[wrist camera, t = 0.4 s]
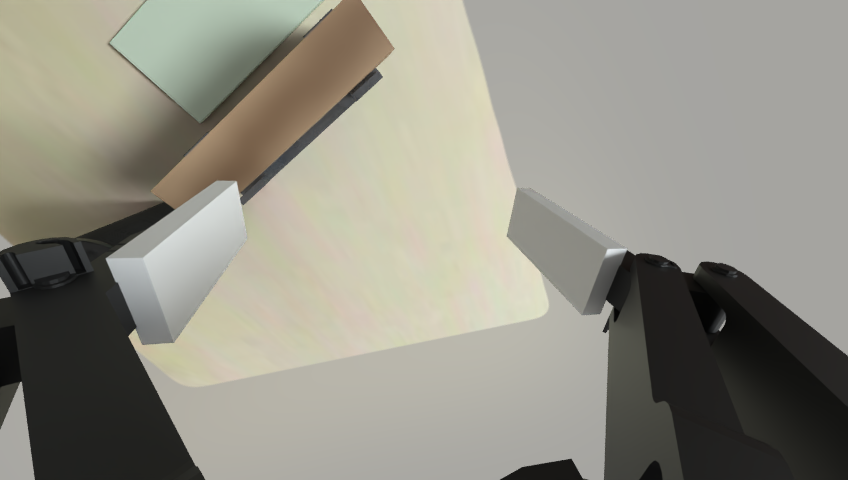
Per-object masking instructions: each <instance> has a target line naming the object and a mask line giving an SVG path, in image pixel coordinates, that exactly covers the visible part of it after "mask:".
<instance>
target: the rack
mask: <svg viewBox="0 0 848 480" xmlns="http://www.w3.org/2000/svg"><path fill="white" fill-rule="evenodd" d="M331 11H332V9H331V10H330V11H329V12H328V13H327V14H326V15H325V16H324V17H323V18H322V19H321V20H320V21H319V22H318V23H317V24H316V25H315V26H314V27H313V28H312V29H311V30H310V31H309V32H308V33H307V34H306V35H305V36H304V38H305V37H306V36H307V35H308V34H309V33H310V32H311V31H312V30H313V29H314V28H315V27H316V26H317V25H318V24H319V23H320V22H321V21H322V20H323V19H324V18H325V17H326V16H327V15H328V14H329V13H330V12H331ZM382 77H383V76H382V75H381V74H380V72H379V71H378V70H377V69H376V68H375V69H374V70H373V71H372V72H370V73H369V74H368V75H367V76H366V77H365V78H364V79H363V80H362V81H361V82H360V83H359V84H358V85H356V86H355V87H354V88H353V89H352V90H351V91H350V92H349V93H348V94H347V95H346V96H345V97H344V98H342V99H341V100H340V101H339V102H338V103H337V104H336V105H335V106H334V107H333V108H332V109H331V110H330V111H328V112H327V113H326V114H325V115H324V116H323V117H322V118H321V119H320V120H319V121H318V122H317V123H315V124H314V125H313V126H312V127H311V128H310V129H309V130H308V131H307V132H306V133H305V134H304V135H303V136H301V137H300V138H299V139H298V140H297V141H296V142H295V143H294V144H293V145H292V146H291V147H290V148H289V149H287V150H286V151H285V152H284V153H283V154H282V155H281V156H280V157H279V158H278V159H277V160H276V161H275V162H273V163H272V164H271V165H270V166H269V167H268V168H267V169H266V170H265V171H264V172H263V173H262V174H261V175H259V176H258V177H257V178H256V179H255V180H254V181H253V182H252V183H251V184H250V185H249V186H248V187H246V188H245V189H244V190H243V191H242V192H241V194H242V195H243V196H242V197H241V198H240V201H241V204H243V205H244V204H245V203H246V202H247V201H248V200H249V199H251V198H252V197H253V196H254V195H255V194H256V193H257V192H258V191H259V190H260V189H261V188H263V187H264V186H265V185H266V184H267V183H268V182H269V181H270V179H272V178H273V177H274V176H275V175H276V174H277V173H278V172H279V171H280V170H281V169H282V168H284V167H285V166H286V165H287V164H288V163H289V162H290V161H291V160H292V159H293V158H294V157H296V156H297V155H298V154H299V153H300V152H301V151H302V150H303V149H304V148H305V147H306V146H308V145H309V144H310V143H311V142H312V141H313V140H314V139H315V138H316V137H317V136H318V135H320V134H321V133H322V132H323V131H324V130H325V129H326V128H327V127H328V126H329V125H330V124H332V123H333V122H334V121H335V120H336V119H337V118H338V117H339V116H340V115H341V114H342V113H343V112H345V111H346V110H347V109H348V108H349V107H350V106H351V105H352V104H353V103H354V102H355V101H357V100H358V99H360V98H361V97H362V96H363V95H364V94H365V93H366V92H367V91H368V90H369V89H370V88H372V87H373V86H374V85H375V84H376V83H377V82H378V81H379V80H380V79H381V78H382ZM208 133H209V132H207V133H206V134H205V135H204V136H203V137H202V138H201V139H200V140H199V141H198V142H197V143H196V144H195V145H194V146H193V147H192V148H191V149H190V150H189V151H188V152H187V153H186V154H185V155H184V157H185V156H186V155H187V154H188V153H189V152H190V151H191V150H192V149H193V148H194V147H195V146H196V145H197V144H198V143H199V142H200V141H201V140H202V139H203V138H204V137H205V136H206V135H207V134H208Z"/></svg>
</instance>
